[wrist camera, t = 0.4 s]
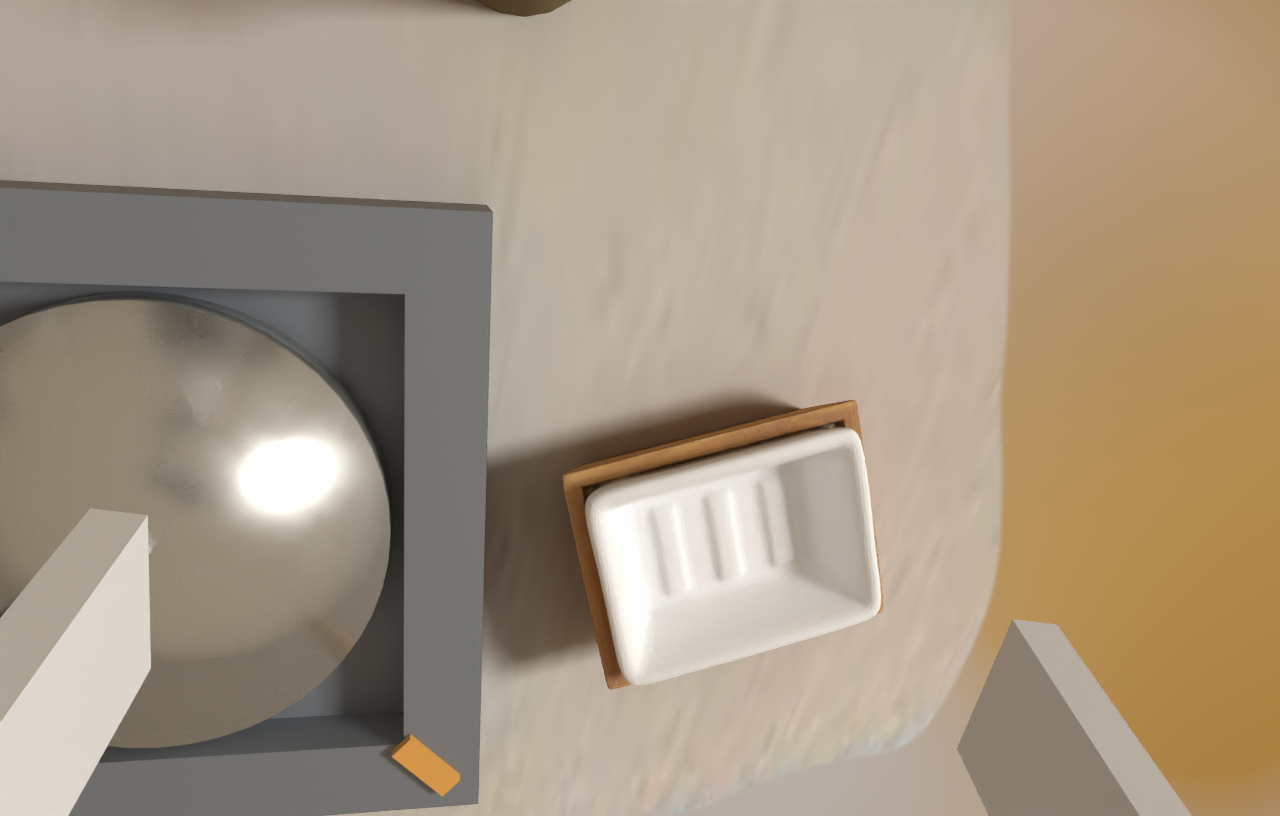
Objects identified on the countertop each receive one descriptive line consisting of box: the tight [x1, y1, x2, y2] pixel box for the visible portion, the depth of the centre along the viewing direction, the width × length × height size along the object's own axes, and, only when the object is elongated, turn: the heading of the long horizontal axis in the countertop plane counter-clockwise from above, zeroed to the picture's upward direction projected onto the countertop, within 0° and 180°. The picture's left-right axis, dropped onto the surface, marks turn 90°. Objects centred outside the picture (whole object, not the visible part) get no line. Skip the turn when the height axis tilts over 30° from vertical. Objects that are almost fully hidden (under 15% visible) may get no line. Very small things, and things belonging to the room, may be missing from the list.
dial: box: [0, 292, 392, 748], centre depth 31 cm, size 17×17×13 cm
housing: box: [0, 180, 493, 816], centre depth 37 cm, size 24×24×4 cm
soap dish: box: [562, 400, 883, 689], centre depth 42 cm, size 12×10×5 cm
